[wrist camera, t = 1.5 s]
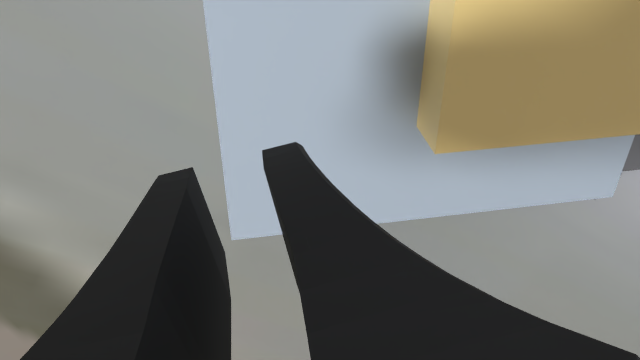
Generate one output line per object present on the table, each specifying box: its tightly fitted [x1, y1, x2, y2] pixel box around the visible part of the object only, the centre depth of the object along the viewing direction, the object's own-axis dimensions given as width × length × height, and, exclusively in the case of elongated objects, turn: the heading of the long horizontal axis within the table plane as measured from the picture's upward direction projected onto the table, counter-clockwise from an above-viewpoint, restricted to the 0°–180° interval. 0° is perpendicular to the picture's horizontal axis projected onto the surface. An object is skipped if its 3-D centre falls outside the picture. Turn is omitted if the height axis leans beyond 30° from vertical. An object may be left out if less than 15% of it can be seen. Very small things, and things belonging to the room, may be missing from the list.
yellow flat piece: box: [417, 0, 640, 154], centre depth 17 cm, size 8×6×2 cm
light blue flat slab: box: [203, 0, 635, 240], centre depth 18 cm, size 15×14×2 cm
